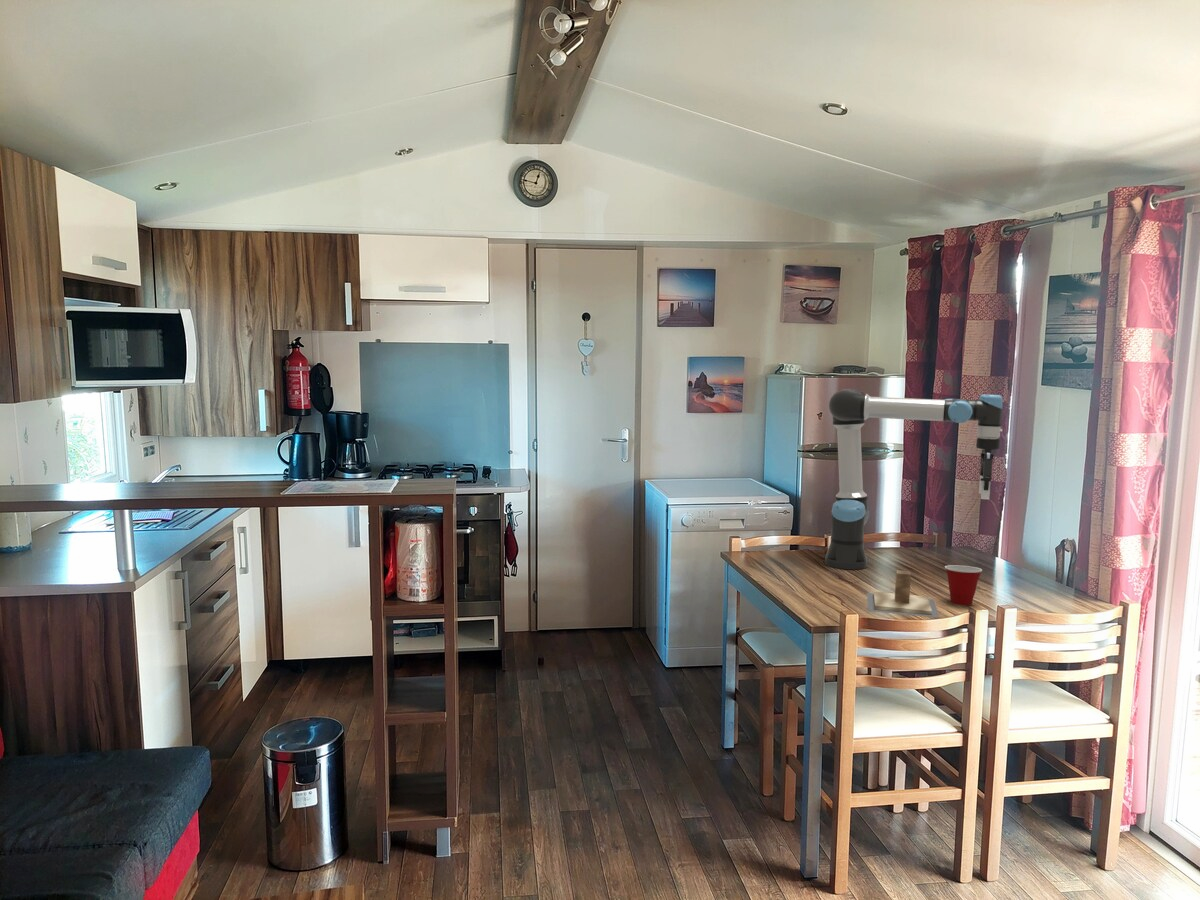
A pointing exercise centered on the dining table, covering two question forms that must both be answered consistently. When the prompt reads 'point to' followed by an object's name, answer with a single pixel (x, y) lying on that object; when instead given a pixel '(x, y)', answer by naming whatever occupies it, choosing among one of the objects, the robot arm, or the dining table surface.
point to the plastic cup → (962, 583)
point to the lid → (902, 598)
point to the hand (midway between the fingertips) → (983, 496)
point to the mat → (872, 608)
